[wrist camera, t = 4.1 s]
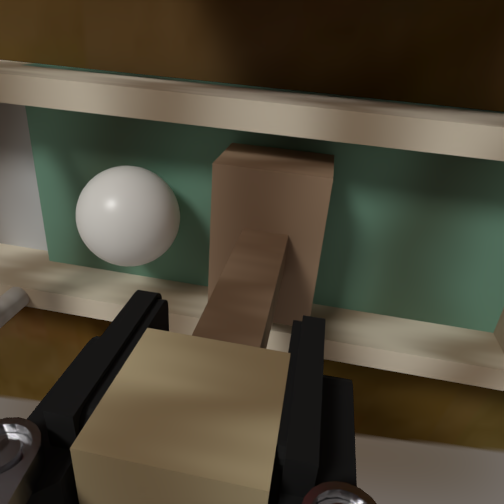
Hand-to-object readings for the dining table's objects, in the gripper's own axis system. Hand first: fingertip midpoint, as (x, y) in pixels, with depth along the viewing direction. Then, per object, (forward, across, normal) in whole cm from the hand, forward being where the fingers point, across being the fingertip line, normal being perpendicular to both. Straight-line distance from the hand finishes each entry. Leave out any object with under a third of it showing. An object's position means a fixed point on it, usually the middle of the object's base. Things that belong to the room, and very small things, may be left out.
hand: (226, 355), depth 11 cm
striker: (+9, 0, 0) cm, 9 cm away
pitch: (+10, +4, 0) cm, 11 cm away
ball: (+7, +6, 0) cm, 9 cm away
